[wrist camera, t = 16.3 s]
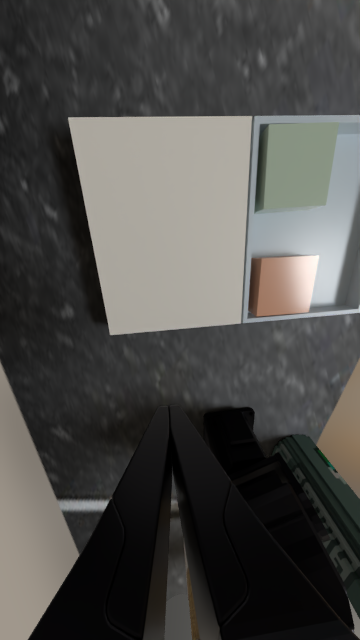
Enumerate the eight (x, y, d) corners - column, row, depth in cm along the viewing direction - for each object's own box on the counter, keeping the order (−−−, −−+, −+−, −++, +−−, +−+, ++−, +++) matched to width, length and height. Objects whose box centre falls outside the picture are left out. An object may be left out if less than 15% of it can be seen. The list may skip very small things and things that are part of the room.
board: (231, 315, 20) (240, 323, 18) (116, 325, 20) (110, 335, 17) (237, 136, 15) (251, 116, 13) (82, 139, 14) (67, 117, 12)
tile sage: (307, 210, 17) (325, 205, 15) (251, 214, 16) (263, 209, 15) (316, 138, 15) (339, 121, 13) (255, 140, 15) (269, 124, 13)
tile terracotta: (294, 306, 20) (308, 312, 18) (247, 310, 19) (256, 316, 17) (302, 255, 18) (319, 255, 16) (251, 257, 18) (261, 258, 16)
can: (304, 464, 30) (433, 652, 16) (268, 465, 29) (369, 663, 15) (317, 434, 28) (477, 618, 14) (278, 435, 27) (406, 630, 13)
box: (338, 305, 21) (361, 312, 19) (233, 314, 20) (243, 323, 18) (378, 134, 16) (415, 114, 14) (240, 136, 15) (254, 116, 13)
